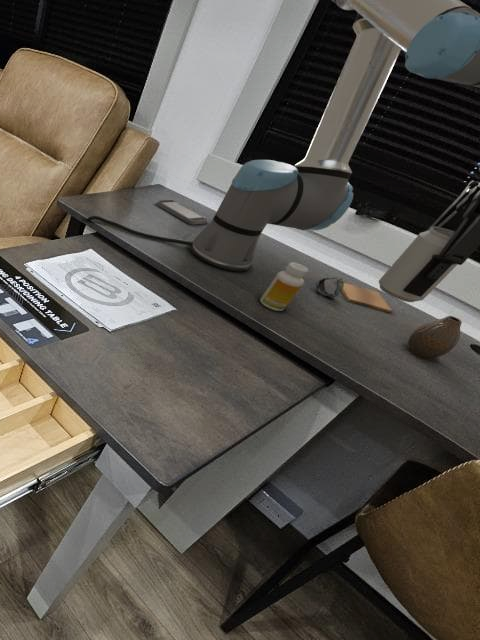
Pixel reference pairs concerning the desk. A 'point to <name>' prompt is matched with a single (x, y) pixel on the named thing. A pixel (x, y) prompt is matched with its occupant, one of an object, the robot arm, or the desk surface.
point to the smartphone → (182, 212)
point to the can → (415, 264)
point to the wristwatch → (321, 287)
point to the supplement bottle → (284, 287)
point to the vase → (435, 337)
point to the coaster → (365, 297)
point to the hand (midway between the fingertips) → (407, 284)
